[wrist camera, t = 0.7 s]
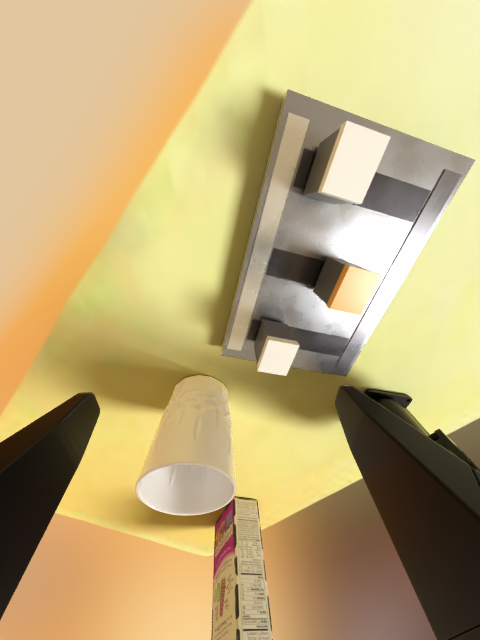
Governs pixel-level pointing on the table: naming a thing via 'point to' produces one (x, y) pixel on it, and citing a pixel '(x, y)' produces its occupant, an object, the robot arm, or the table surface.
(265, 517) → the table surface
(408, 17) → the table surface
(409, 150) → the panel
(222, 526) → the candy bar box
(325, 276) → the block
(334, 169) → the block
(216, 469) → the white cup
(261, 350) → the block
